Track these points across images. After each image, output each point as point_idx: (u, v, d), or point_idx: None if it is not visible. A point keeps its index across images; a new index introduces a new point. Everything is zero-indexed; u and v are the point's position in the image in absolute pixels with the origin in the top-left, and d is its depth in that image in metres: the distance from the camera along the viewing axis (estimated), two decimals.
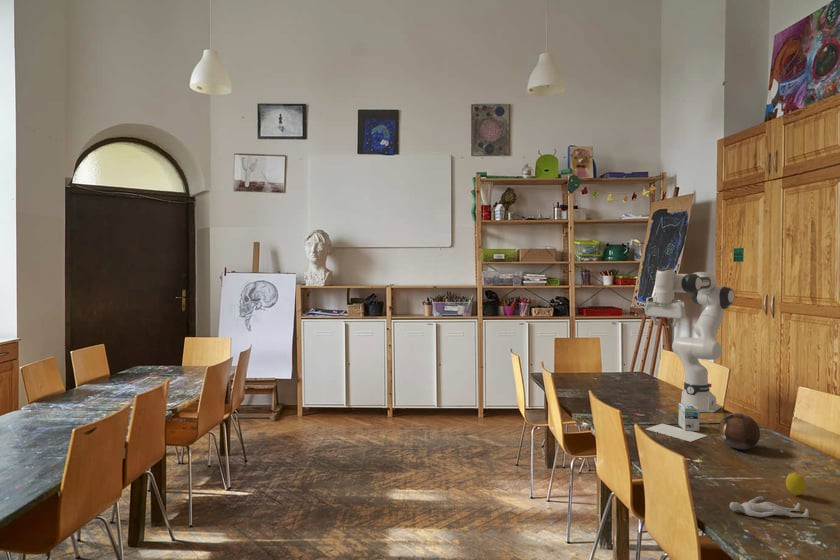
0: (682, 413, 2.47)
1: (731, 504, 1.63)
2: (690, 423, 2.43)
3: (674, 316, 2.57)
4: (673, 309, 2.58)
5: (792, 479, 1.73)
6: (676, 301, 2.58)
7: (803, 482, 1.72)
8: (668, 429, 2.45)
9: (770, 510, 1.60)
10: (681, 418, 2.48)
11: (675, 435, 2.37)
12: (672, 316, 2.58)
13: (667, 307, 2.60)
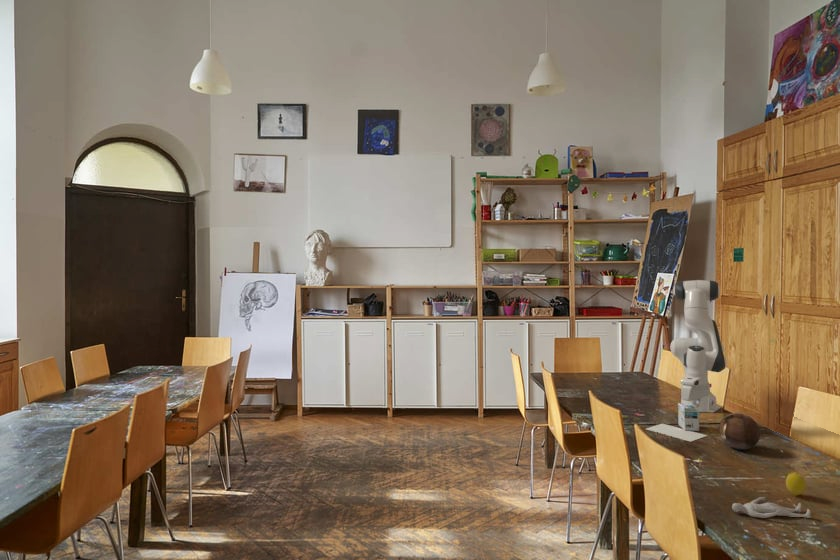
0: (681, 413, 2.47)
1: (734, 505, 1.62)
2: (690, 423, 2.43)
3: (706, 395, 2.53)
4: (705, 388, 2.53)
5: (792, 479, 1.73)
6: None
7: (803, 482, 1.72)
8: (668, 429, 2.45)
9: (772, 511, 1.60)
10: (681, 418, 2.48)
11: (675, 435, 2.37)
12: (705, 395, 2.52)
13: (702, 387, 2.51)
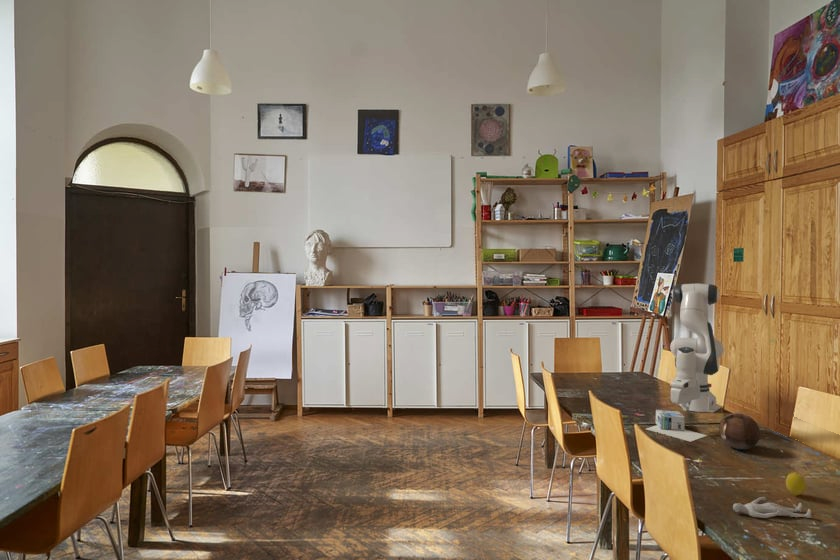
0: None
1: (734, 505, 1.62)
2: (676, 424, 2.44)
3: (696, 397, 2.48)
4: (695, 390, 2.48)
5: (792, 479, 1.73)
6: None
7: (803, 482, 1.72)
8: (668, 429, 2.45)
9: (773, 511, 1.60)
10: None
11: (675, 435, 2.37)
12: (695, 398, 2.47)
13: (692, 390, 2.46)
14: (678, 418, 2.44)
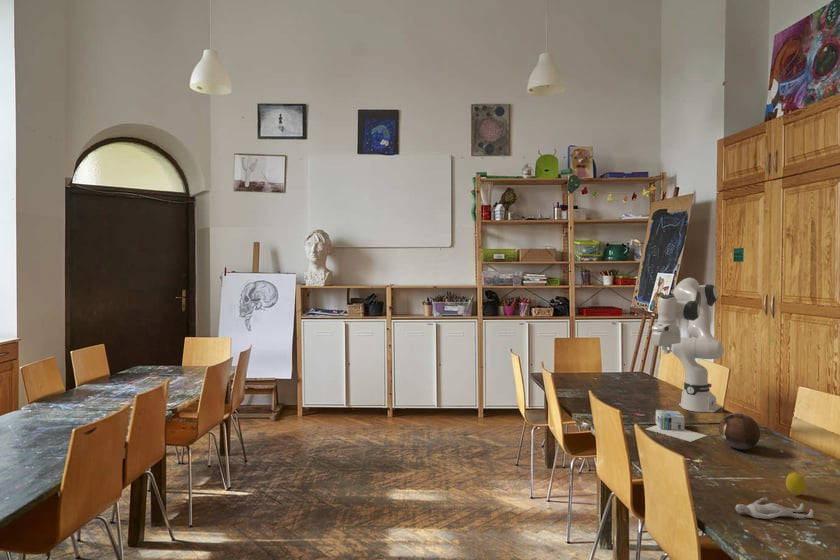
0: None
1: (737, 506, 1.62)
2: (676, 425, 2.44)
3: (677, 342, 2.63)
4: (675, 335, 2.63)
5: (792, 479, 1.73)
6: None
7: (803, 482, 1.72)
8: (668, 429, 2.45)
9: (776, 511, 1.59)
10: None
11: (675, 435, 2.37)
12: (675, 342, 2.63)
13: (672, 334, 2.61)
14: (678, 418, 2.44)
